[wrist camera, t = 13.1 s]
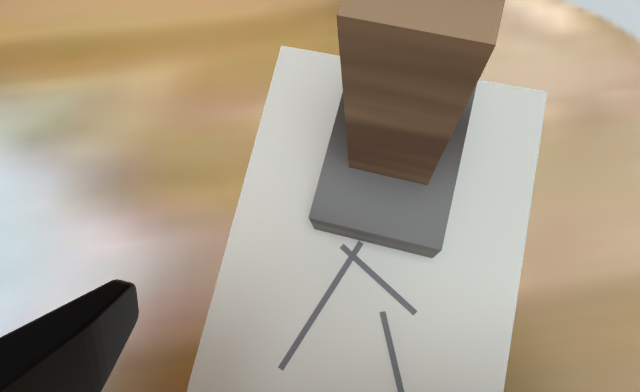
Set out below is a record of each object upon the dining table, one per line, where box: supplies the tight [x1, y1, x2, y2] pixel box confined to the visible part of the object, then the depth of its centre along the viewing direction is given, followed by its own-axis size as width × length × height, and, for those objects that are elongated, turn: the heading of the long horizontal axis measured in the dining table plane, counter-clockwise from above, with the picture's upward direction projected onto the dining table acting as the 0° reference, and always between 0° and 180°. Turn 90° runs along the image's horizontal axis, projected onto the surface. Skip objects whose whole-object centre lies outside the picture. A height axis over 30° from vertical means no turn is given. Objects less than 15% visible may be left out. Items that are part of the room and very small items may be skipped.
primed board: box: [186, 46, 547, 392], centre depth 21 cm, size 22×12×2 cm, turn 167°
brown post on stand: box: [308, 0, 505, 258], centre depth 16 cm, size 8×5×12 cm, turn 165°
